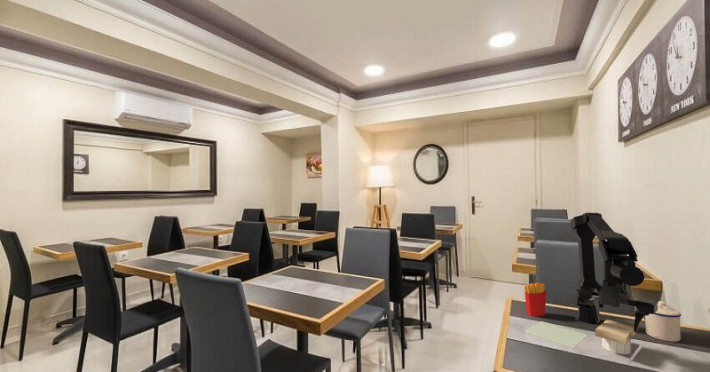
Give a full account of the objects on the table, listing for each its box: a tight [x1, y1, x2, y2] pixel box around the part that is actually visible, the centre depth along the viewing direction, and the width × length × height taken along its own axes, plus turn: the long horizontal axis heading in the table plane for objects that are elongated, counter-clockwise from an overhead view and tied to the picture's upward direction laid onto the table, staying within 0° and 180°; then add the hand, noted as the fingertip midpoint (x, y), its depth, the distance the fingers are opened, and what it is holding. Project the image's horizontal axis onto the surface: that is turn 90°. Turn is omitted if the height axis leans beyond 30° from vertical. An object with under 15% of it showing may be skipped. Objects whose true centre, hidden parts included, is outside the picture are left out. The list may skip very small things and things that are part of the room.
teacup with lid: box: [642, 300, 682, 343], centre depth 111 cm, size 12×9×12 cm
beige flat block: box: [594, 319, 637, 345], centre depth 100 cm, size 12×7×2 cm, turn 128°
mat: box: [523, 320, 589, 349], centre depth 111 cm, size 14×15×1 cm
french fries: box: [523, 282, 547, 318], centre depth 128 cm, size 9×4×13 cm, turn 106°
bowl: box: [601, 338, 632, 355], centre depth 100 cm, size 7×7×5 cm
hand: (616, 326), depth 100 cm, fingers open, 9 cm apart
